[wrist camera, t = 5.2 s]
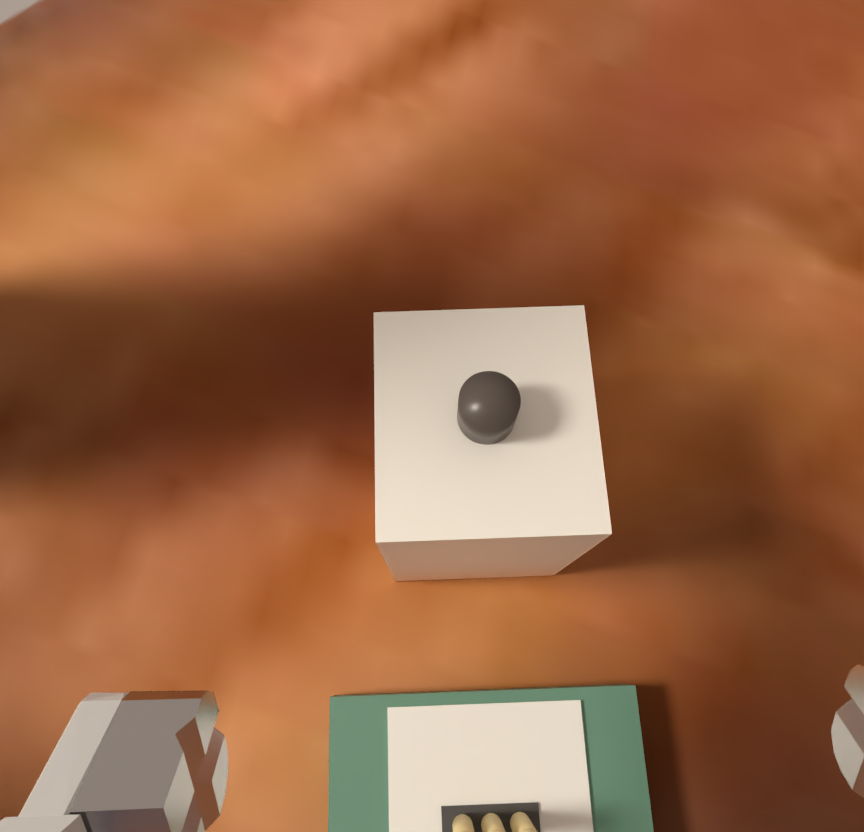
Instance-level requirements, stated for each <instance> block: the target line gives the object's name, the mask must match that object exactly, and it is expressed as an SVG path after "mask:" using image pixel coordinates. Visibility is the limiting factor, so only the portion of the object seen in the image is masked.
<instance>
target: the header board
mask: <svg viewBox="0 0 864 832" xmlns="http://www.w3.org/2000/svg"><path fill="white" fill-rule="evenodd" d="M328 832H654V829H653V821H652V813H651V805H650V797H649V789H648V781H647V773H646V765H645V757H644V749H643V741H642V733H641V725H640V717H639V709H638V701H637V693H636V685H629V684H613V685H587V686H561V687H535V688H509V689H483V690H457V691H431V692H405V693H379V694H353V695H334V696H331V697H330V736H329V818H328Z"/></svg>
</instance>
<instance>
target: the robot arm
mask: <svg viewBox="0 0 864 832" xmlns="http://www.w3.org/2000/svg"><path fill="white" fill-rule="evenodd" d="M844 687H845V689H846V690H847V692H848V693H849V695H850V696H851V698H852V699H851V700H849V701H848V702H847V703H846V704H845V705H843V706H842V707H841V708H840V709H838V710H837V711H836V713H835V717H834V721H833V725H832V729H831V734H832V742H833V750H834V754H835V757H836V759H837V762H838V765H839V767H840V770H841V772H842V774H843V775H844V777H845V779H846V780H847V782H848V784H849V785H850V787H851V789H852V790H853V791H854V792H856V793H857V794H859V795H860V796H861V797H863V798H864V664H858V665H857V666H855V667H854V668H853V669H852V670H851V671H850V672H849V674H848V677H847V680H846V682H845V685H844ZM218 712H219V710H218V706H217V702H216V699H215V695H214V692H211V691H130V692H101V693H90V694H89V695H88V696H86V697H85V698H84V699H83V700H82V701H81V702H80V703H79V704H78V706H77V708H76V710H75V712H74V714H73V715H72V717H71V719H70V721H69V723H68V725H67V727H66V728H65V730H64V732H63V734H62V736H61V738H60V739H59V741H58V743H57V745H56V747H55V749H54V751H53V752H52V754H51V756H50V758H49V760H48V762H47V764H46V765H45V767H44V769H43V771H42V773H41V775H40V777H39V778H38V780H37V782H36V784H35V786H34V788H33V790H32V791H31V793H30V795H29V797H28V799H27V801H26V802H25V804H24V806H23V808H22V810H21V812H20V814H19V815H18V816H15V817H5V818H3V819H2V820H1V821H0V832H205V830H206V829H207V828H208V827H209V826H210V825H211V824H212V823H213V822H214V821H215V820H216V819H217V818H218V817H219V816H220V813H221V809H222V805H223V801H224V797H225V793H226V784H227V775H228V751H227V745H226V740H225V735H223V734H222V733H221V732H220V731H218V730H217V729H216V728H215V727H214V725H215V722H216V718H217V715H218Z"/></svg>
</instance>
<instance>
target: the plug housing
mask: <svg viewBox="0 0 864 832" xmlns="http://www.w3.org/2000/svg"><path fill="white" fill-rule="evenodd" d="M374 420H375V534H376V544H377V546H378V548H379V550H380V552H381V554H382V556H383V558H384V560H385V562H386V564H387V566H388V568H389V570H390V572H391V574H392V576H393V578H394V580H395V581H416V580H443V579H470V578H497V577H524V576H551V575H555V574H556V573H558V572H559V571H561V570H562V569H563V568H565V567H566V566H568V565H569V564H570V563H572V562H573V561H575V560H576V559H578V558H579V557H580V556H582V555H583V554H585V553H586V552H587V551H589V550H590V549H592V548H593V547H594V546H596V545H597V544H599V543H600V542H601V541H603V540H604V539H606V538H607V537H608V536H610V535H611V534H612V529H611V521H610V513H609V505H608V496H607V488H606V480H605V472H604V464H603V456H602V447H601V439H600V431H599V423H598V415H597V407H596V398H595V390H594V382H593V374H592V366H591V358H590V349H589V341H588V333H587V325H586V317H585V309H584V305H577V306H548V307H518V308H489V309H459V310H430V311H400V312H374Z"/></svg>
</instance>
